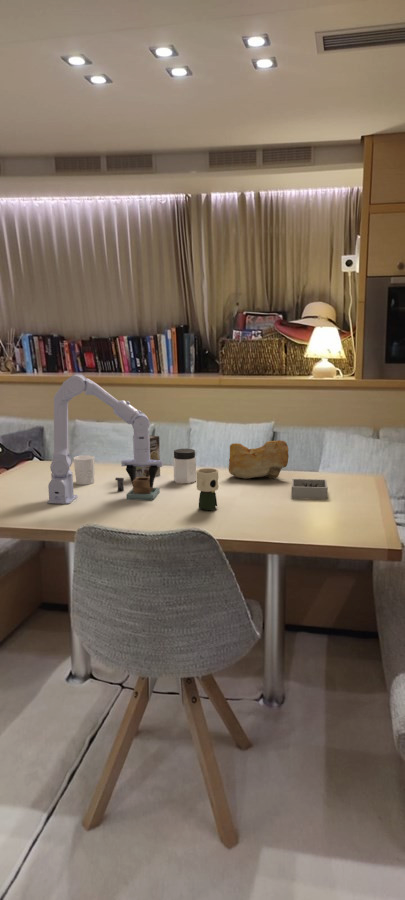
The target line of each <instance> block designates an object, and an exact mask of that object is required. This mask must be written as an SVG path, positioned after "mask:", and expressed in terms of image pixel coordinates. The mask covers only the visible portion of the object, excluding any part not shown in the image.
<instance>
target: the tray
mask: <svg viewBox="0 0 405 900" xmlns="http://www.w3.org/2000/svg"><path fill="white" fill-rule="evenodd" d="M160 493H161V491H160V487H153V490H152V491H151V492H150V493H149V494H147V493H133V487H132V488H131V489H130V490H129V491H128V492H127V493H126V500H133V501H136V500H137V501H139V500H140V501H154V500H155V499H156V498H157V497H158V496H159V494H160Z"/></svg>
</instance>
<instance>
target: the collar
mask: <svg viewBox="0 0 405 900" xmlns="http://www.w3.org/2000/svg"><path fill="white" fill-rule="evenodd" d="M132 488H133V493H147V494H149V493H150V492H151V491H152V490H153V488H154V485H153V486H152V487H150V477H136V478H135V479H134V480H133V485H132Z"/></svg>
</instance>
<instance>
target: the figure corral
mask: <svg viewBox="0 0 405 900" xmlns="http://www.w3.org/2000/svg"><path fill="white" fill-rule="evenodd" d="M302 483H303V484H305V485H306V483H307V487H305V486H304V485H303V484H302ZM311 483H312V487H309V486H310V484H311ZM316 484H318V485H317V487H316V486H315V485H316ZM313 486H315V487H313ZM328 488H329V487H328V480H327V479H321V478H320V479H317V478H313V479H312V478H291V495H290V496H291V497H292V498H291V499H305V498H308V499H312V500H313V499H314V500H315V499H316V500H327V499H328Z"/></svg>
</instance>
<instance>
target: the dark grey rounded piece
mask: <svg viewBox="0 0 405 900" xmlns="http://www.w3.org/2000/svg"><path fill="white" fill-rule="evenodd" d="M114 481H116V482H117V492H120V493H121V492H125V491H124V490H125V489H124V488H125V486H124V485H125V484H124V477H115V480H114Z"/></svg>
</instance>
